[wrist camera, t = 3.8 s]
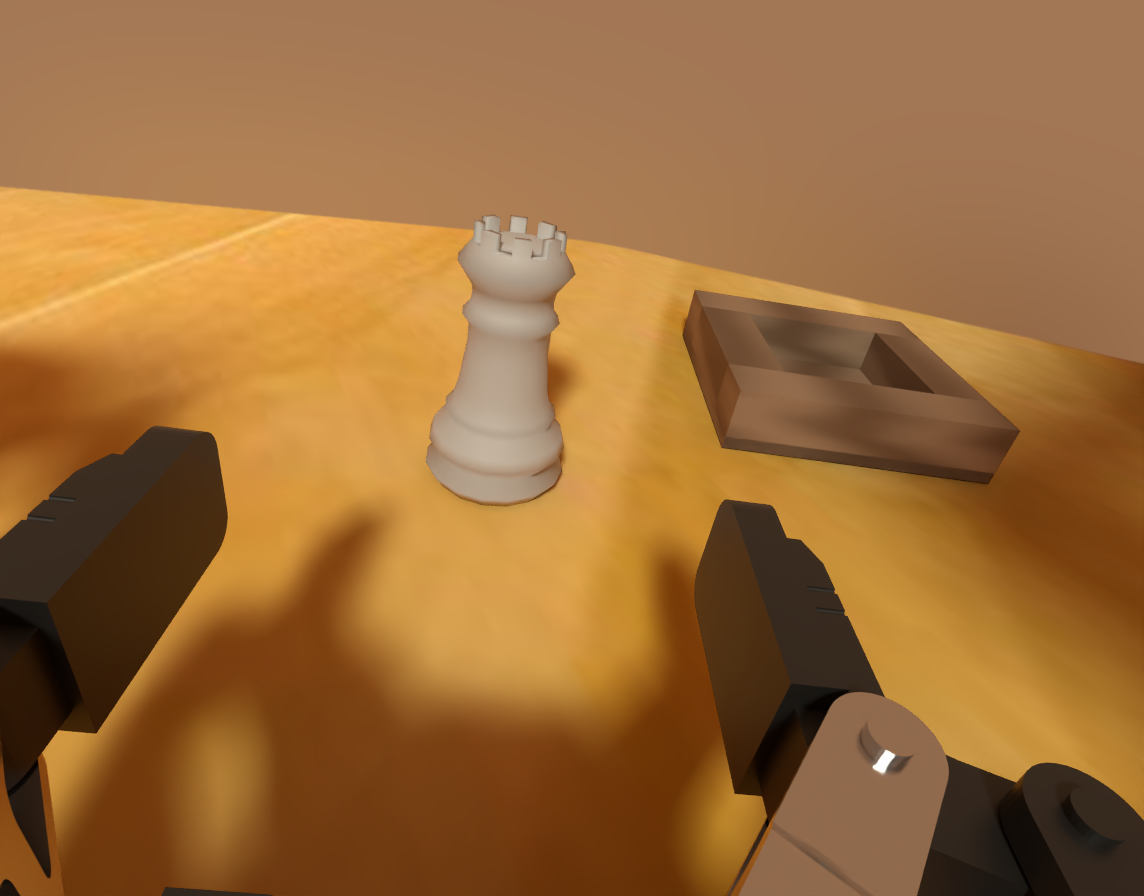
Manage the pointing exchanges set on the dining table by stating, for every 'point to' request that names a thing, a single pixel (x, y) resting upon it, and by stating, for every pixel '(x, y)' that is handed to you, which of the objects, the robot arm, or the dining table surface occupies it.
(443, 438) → the rook chess piece
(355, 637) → the dining table surface
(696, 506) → the dining table surface
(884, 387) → the square tray
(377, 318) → the dining table surface
